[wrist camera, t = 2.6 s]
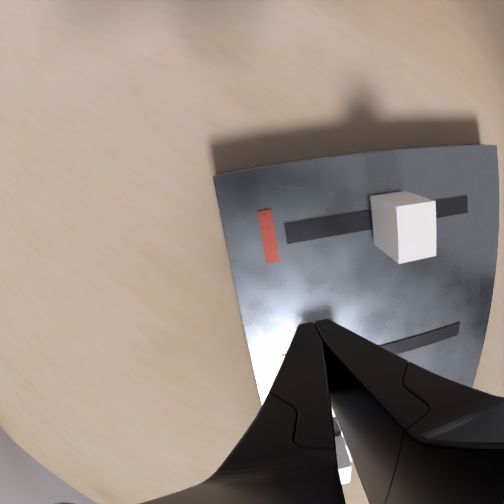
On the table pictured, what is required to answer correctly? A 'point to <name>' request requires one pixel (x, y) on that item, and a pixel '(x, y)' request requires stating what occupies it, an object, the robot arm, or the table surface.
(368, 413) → the robot arm
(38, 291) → the table surface
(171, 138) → the table surface
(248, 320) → the panel
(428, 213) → the handle
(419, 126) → the table surface
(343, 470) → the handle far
